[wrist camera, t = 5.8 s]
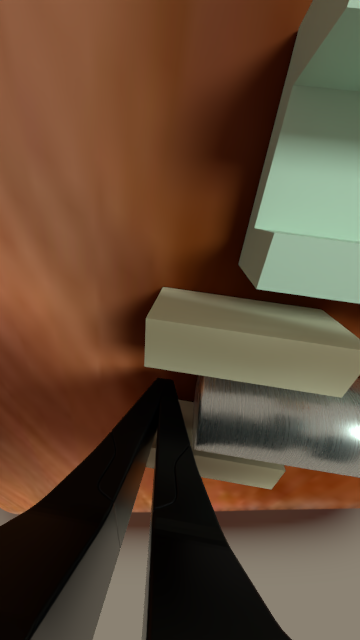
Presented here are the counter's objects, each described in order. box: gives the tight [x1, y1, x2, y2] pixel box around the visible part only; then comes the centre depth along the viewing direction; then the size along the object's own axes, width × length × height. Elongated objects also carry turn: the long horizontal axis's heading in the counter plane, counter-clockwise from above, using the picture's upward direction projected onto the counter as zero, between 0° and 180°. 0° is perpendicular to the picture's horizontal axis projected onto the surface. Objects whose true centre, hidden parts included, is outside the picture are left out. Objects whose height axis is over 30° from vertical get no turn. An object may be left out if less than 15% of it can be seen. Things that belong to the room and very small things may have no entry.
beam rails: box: [144, 287, 360, 489], centre depth 9 cm, size 9×7×3 cm
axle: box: [192, 375, 360, 478], centre depth 9 cm, size 14×4×4 cm, turn 84°
